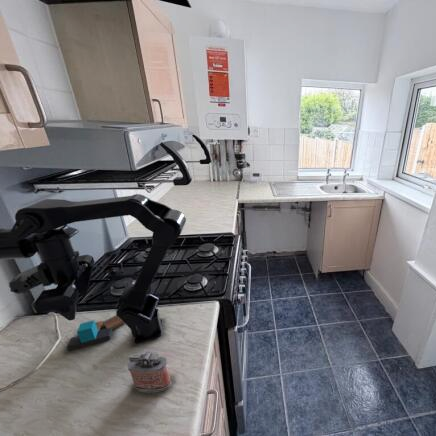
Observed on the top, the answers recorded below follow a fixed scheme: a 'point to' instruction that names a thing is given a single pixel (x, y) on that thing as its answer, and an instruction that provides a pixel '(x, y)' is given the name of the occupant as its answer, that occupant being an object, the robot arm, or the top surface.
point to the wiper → (89, 335)
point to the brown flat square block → (113, 322)
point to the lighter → (149, 372)
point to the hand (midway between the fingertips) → (78, 306)
